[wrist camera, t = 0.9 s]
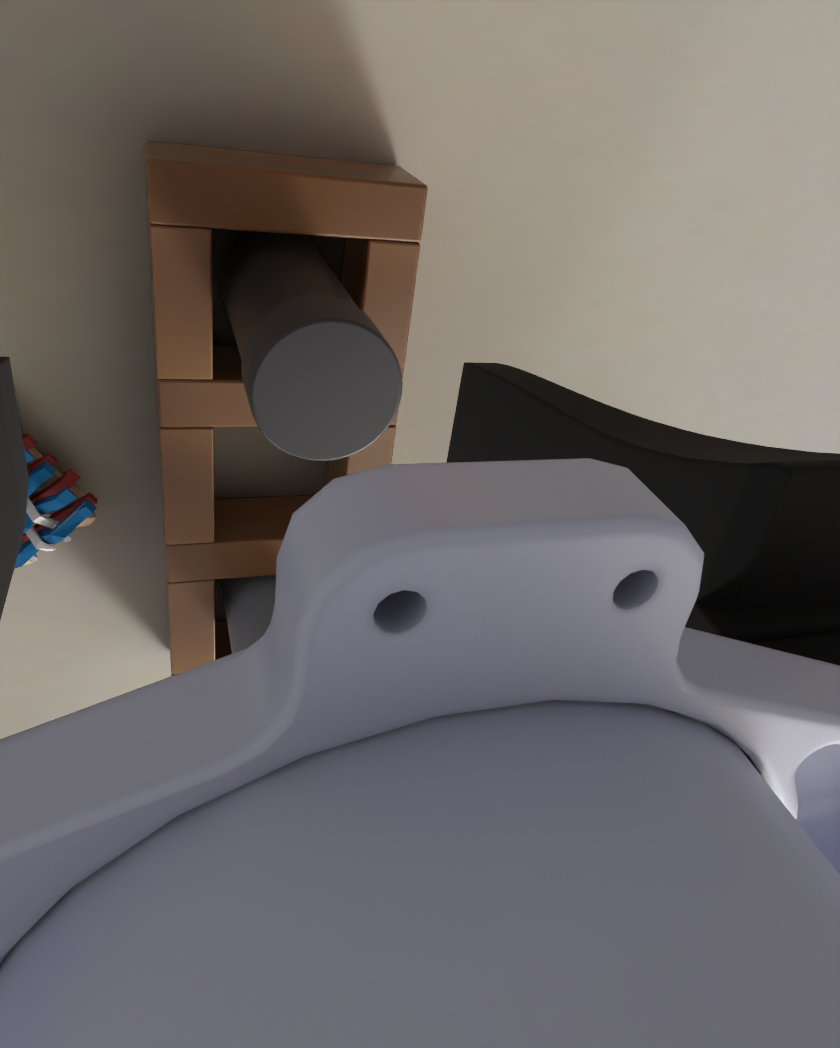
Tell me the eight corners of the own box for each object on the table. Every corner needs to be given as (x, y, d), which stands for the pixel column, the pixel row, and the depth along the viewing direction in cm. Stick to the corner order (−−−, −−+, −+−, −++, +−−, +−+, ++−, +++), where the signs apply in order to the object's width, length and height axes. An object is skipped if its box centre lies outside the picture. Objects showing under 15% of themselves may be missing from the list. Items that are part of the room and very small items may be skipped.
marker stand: (347, 636, 30) (362, 682, 28) (170, 654, 28) (173, 705, 26) (401, 166, 21) (429, 185, 19) (143, 139, 19) (145, 158, 17)
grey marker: (306, 606, 29) (352, 767, 23) (218, 614, 28) (241, 785, 22) (312, 535, 27) (362, 691, 21) (217, 541, 26) (243, 705, 20)
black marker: (326, 337, 23) (394, 460, 17) (216, 334, 22) (248, 464, 16) (335, 226, 21) (413, 321, 15) (216, 217, 20) (250, 315, 14)
